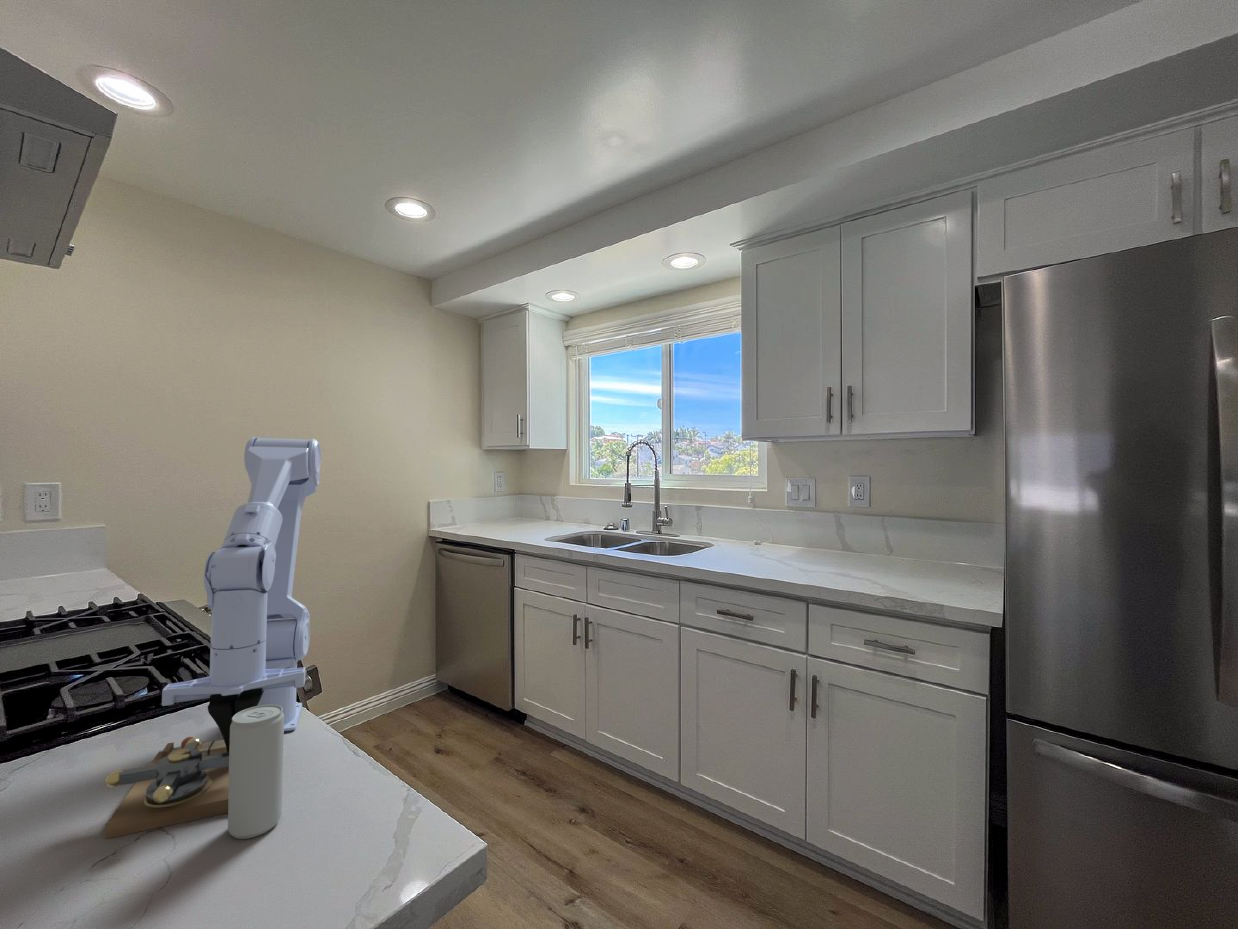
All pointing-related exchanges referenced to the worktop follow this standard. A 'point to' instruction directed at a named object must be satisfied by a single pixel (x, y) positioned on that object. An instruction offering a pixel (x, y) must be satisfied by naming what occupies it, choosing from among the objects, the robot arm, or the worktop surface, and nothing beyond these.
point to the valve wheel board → (203, 804)
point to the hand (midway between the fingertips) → (235, 752)
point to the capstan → (172, 774)
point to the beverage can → (255, 771)
